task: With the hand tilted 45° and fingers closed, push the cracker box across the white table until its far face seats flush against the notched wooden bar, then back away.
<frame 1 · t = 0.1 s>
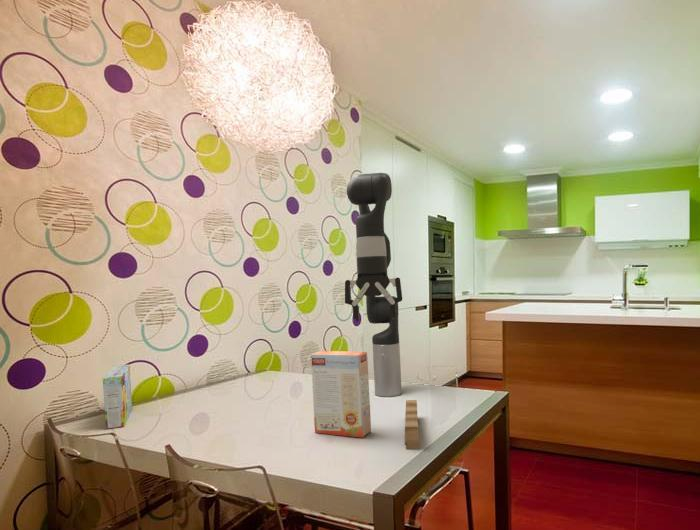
hand: (374, 320, 118), 29 cm above the table, tool pointing down, fingers open, 8 cm apart
notched wooden bar: (412, 431, 121), on the table
cracker box: (343, 433, 123), on the table
snack box: (119, 419, 146), on the table
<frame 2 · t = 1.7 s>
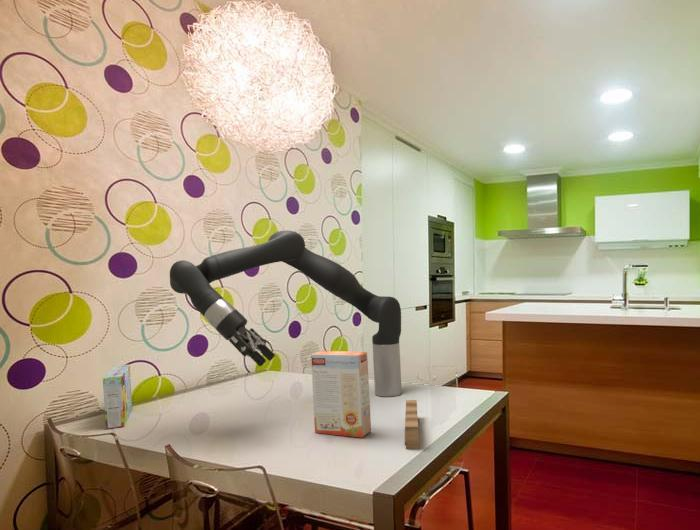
hand: (268, 360, 126), 19 cm above the table, tool tilted 45°, fingers open, 8 cm apart
nothing on the table moved.
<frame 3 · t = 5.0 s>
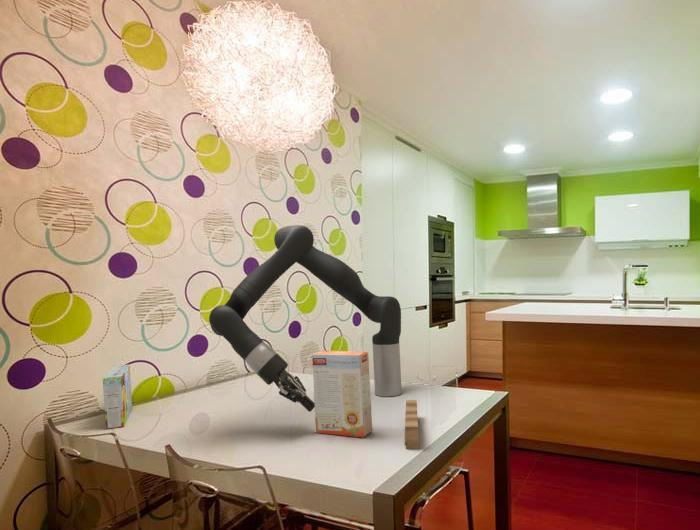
hand: (313, 408, 125), 6 cm above the table, tool tilted 45°, fingers closed
cracker box: (344, 433, 123), on the table, touching gripper
everything else where it was.
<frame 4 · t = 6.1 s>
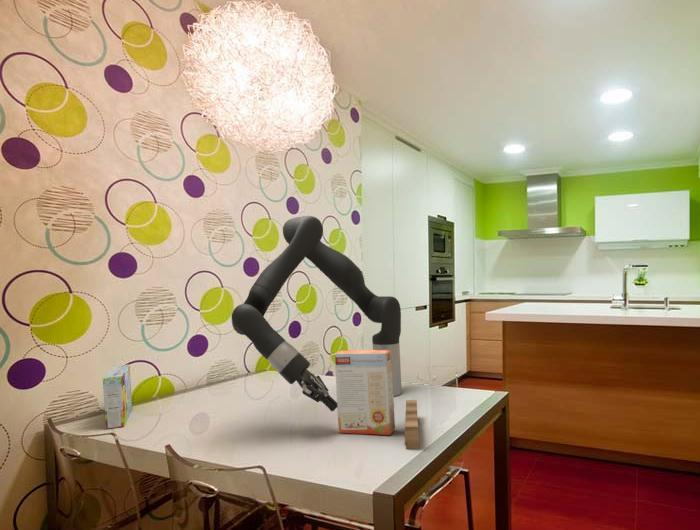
hand: (335, 408, 124), 6 cm above the table, tool tilted 45°, fingers closed
cracker box: (367, 431, 123), on the table, touching gripper
everything else where it was.
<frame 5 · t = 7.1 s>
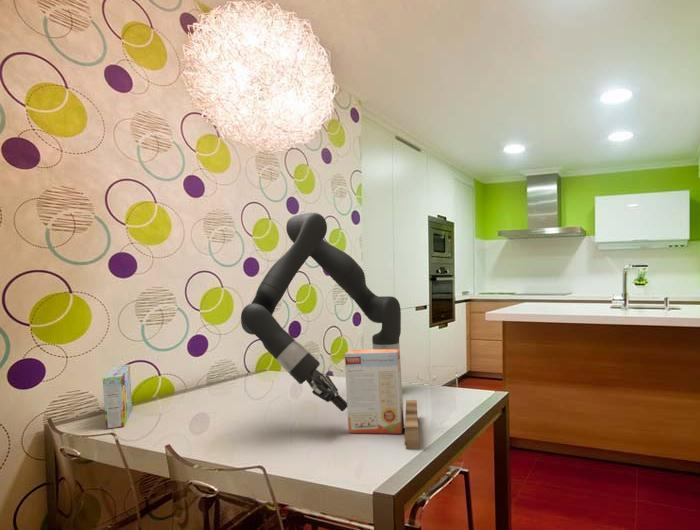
hand: (345, 408, 123), 6 cm above the table, tool tilted 45°, fingers closed
cracker box: (376, 431, 124), on the table, touching gripper
everything else where it was.
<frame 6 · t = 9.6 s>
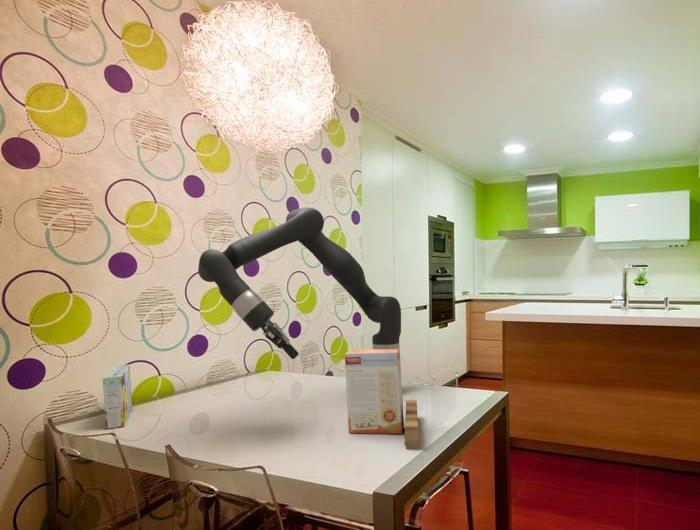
hand: (296, 356, 126), 20 cm above the table, tool tilted 40°, fingers closed
cracker box: (376, 431, 124), on the table
everything else where it was.
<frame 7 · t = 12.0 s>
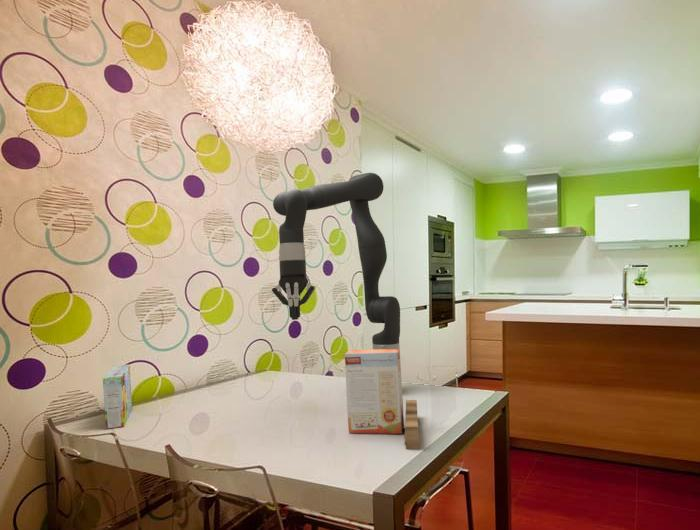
hand: (295, 319, 136), 29 cm above the table, tool pointing down, fingers closed
nothing on the table moved.
at the end: cracker box inside the target area (1.4 cm from its centre), on the table; cracker box tilted 0°; cracker box moved 8.8 cm from its start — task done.
